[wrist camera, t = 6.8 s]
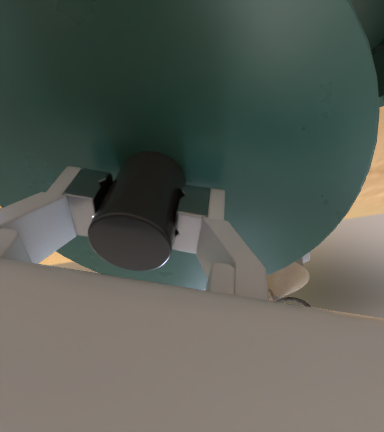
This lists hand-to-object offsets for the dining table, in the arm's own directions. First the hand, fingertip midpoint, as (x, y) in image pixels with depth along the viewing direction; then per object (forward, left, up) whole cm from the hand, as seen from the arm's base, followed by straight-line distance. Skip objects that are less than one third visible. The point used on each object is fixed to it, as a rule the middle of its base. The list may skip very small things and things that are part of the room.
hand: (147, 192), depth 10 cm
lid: (0, 0, -2) cm, 2 cm away
